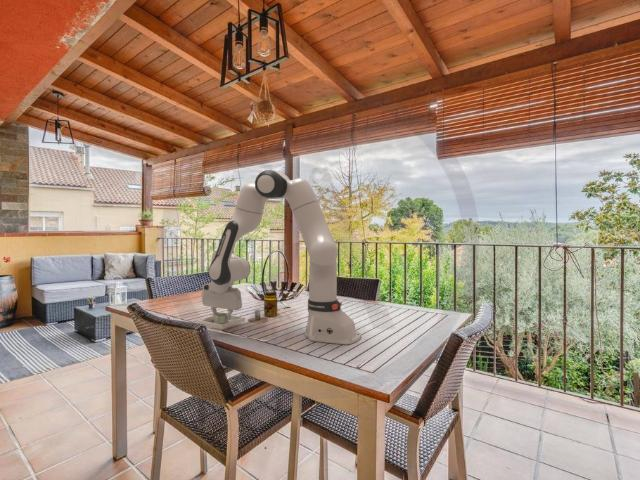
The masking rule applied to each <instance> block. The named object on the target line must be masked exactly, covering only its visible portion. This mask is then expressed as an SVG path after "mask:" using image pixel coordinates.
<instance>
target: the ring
mask: <svg viewBox="0 0 640 480" xmlns="http://www.w3.org/2000/svg"><path fill="white" fill-rule="evenodd" d="M227 314H228V313H226V312H218V313H217V314H214V320H213V323H217V324H225V323H228V322H229V319H226V315H227Z"/></svg>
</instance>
